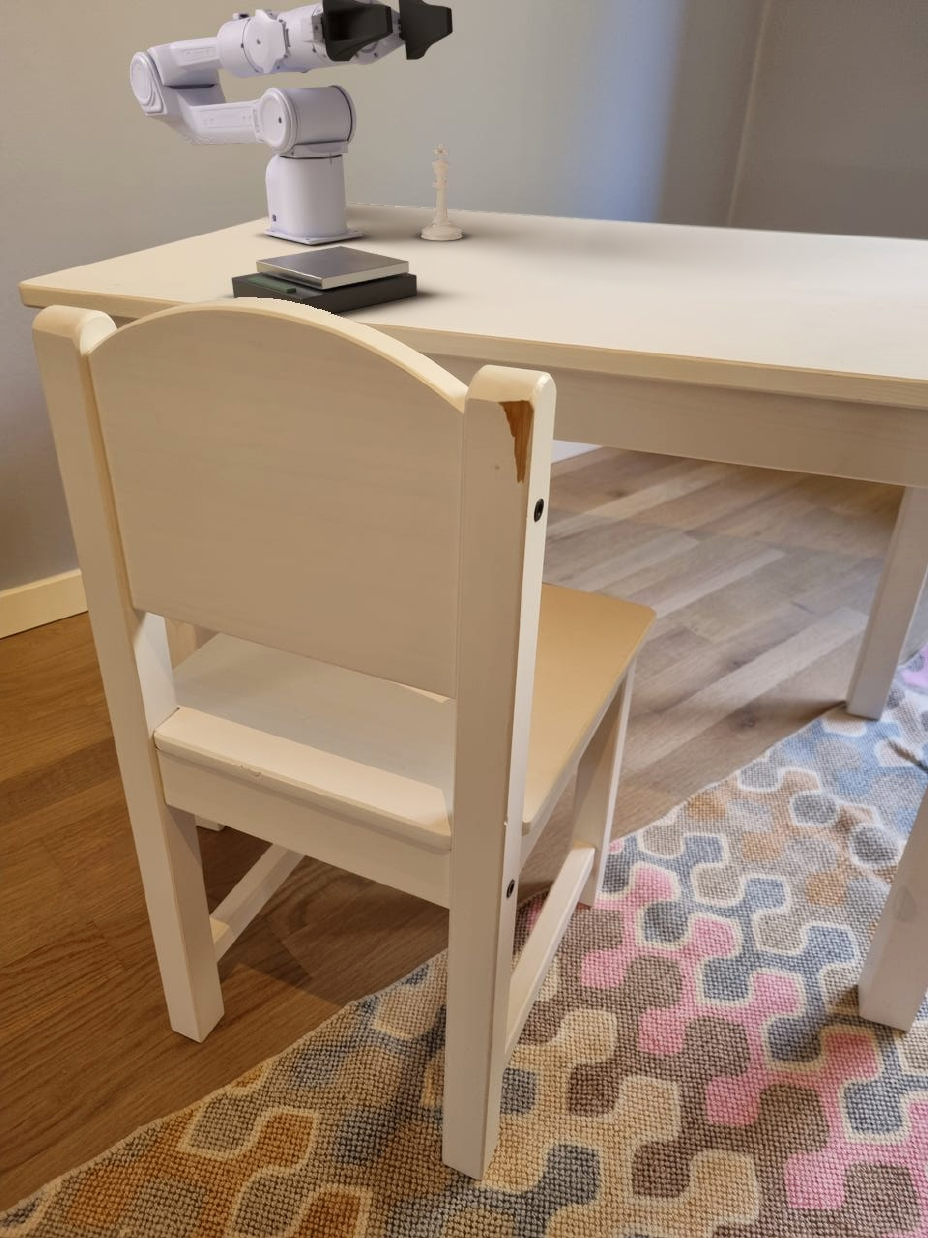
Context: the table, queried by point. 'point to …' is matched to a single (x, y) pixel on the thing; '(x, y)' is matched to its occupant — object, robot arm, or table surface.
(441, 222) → the chess piece
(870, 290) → the table surface
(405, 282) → the scale
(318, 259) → the scale pan
